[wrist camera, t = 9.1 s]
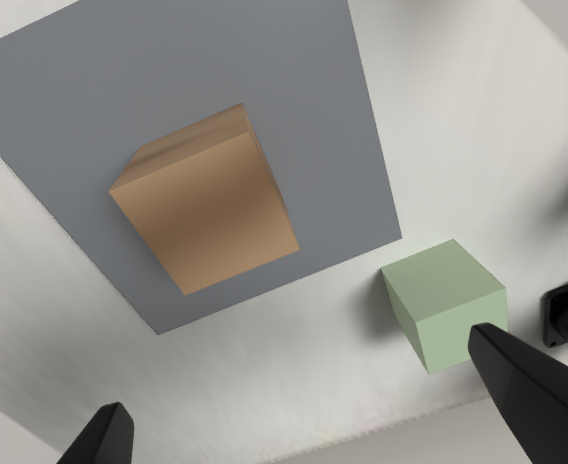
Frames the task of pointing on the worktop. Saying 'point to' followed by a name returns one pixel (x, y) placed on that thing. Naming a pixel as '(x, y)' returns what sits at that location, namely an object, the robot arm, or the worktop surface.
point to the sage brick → (443, 302)
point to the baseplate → (185, 111)
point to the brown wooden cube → (206, 201)
